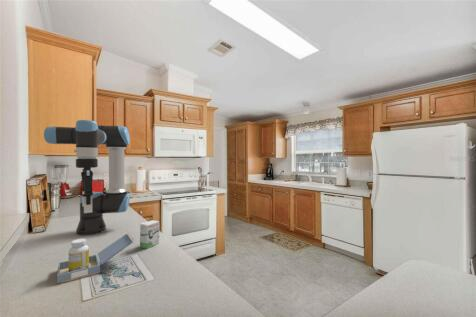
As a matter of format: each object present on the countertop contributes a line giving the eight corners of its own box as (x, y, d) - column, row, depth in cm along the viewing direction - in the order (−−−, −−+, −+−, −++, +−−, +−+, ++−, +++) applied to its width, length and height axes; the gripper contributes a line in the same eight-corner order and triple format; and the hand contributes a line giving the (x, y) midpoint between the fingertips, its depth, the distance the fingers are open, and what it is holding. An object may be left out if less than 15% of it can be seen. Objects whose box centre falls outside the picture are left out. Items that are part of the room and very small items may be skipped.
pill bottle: (86, 264, 93) (86, 236, 93) (90, 270, 88) (90, 240, 88) (67, 270, 88) (67, 240, 88) (70, 276, 83) (70, 245, 83)
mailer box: (58, 270, 89) (58, 262, 89) (96, 261, 97) (96, 254, 97) (57, 284, 79) (57, 275, 79) (100, 272, 87) (100, 265, 87)
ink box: (146, 249, 110) (146, 225, 110) (139, 247, 112) (139, 223, 112) (159, 243, 118) (159, 220, 118) (152, 241, 120) (152, 219, 120)
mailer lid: (127, 230, 104) (128, 233, 104) (96, 251, 97) (98, 254, 97) (133, 238, 94) (134, 240, 95) (99, 262, 87) (101, 264, 87)
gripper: (75, 157, 100) (75, 204, 101) (76, 158, 80) (76, 217, 81) (95, 157, 105) (95, 202, 105) (100, 158, 85) (100, 214, 85)
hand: (87, 209), depth 93 cm, fingers open, 13 cm apart
